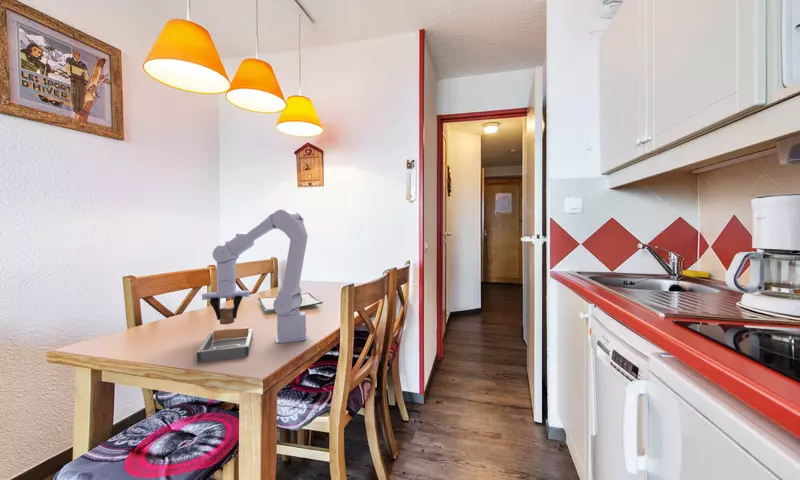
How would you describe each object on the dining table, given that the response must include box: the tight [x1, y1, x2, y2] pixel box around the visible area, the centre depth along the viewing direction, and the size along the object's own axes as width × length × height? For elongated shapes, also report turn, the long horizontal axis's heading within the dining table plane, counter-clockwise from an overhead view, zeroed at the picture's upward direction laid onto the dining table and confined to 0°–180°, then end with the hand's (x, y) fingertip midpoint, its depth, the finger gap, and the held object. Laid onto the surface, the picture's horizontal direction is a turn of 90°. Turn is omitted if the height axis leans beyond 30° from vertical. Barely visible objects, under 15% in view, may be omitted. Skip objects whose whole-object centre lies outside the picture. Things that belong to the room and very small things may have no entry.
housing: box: [196, 328, 254, 364], centre depth 97 cm, size 13×17×3 cm
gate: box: [212, 326, 249, 341], centre depth 105 cm, size 10×1×3 cm, turn 112°
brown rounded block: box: [219, 306, 235, 325], centre depth 109 cm, size 4×4×5 cm
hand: (227, 318), depth 109 cm, fingers closed on brown rounded block, 4 cm apart
